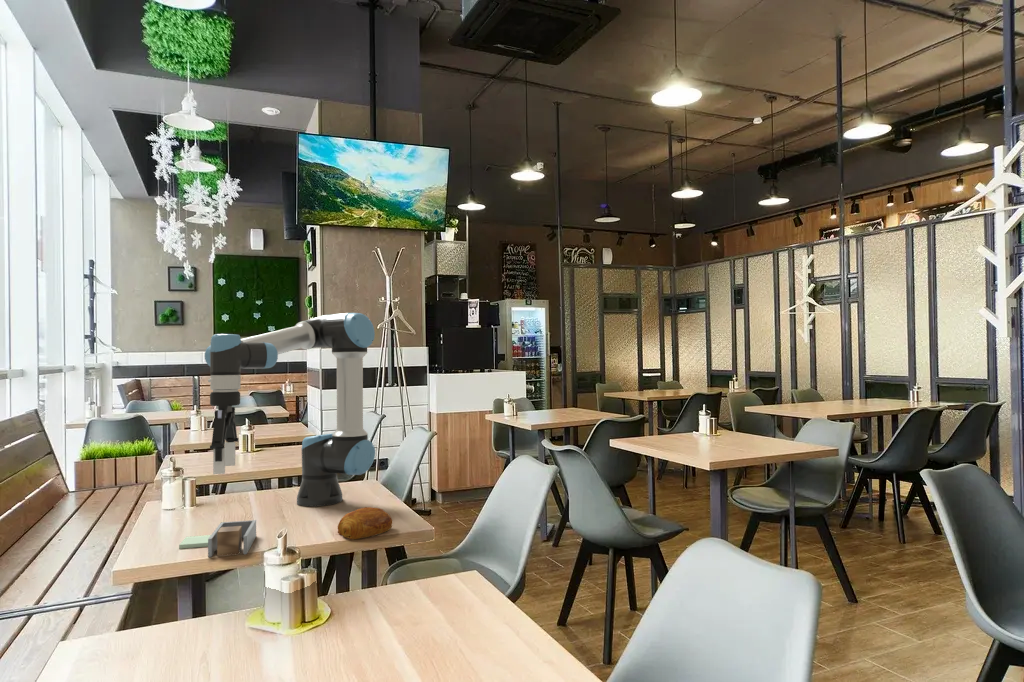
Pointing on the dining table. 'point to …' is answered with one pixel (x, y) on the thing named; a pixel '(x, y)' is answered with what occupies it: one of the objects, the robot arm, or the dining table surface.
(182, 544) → the coaster
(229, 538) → the block
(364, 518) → the brown oval lump
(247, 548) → the u-shaped bracket
